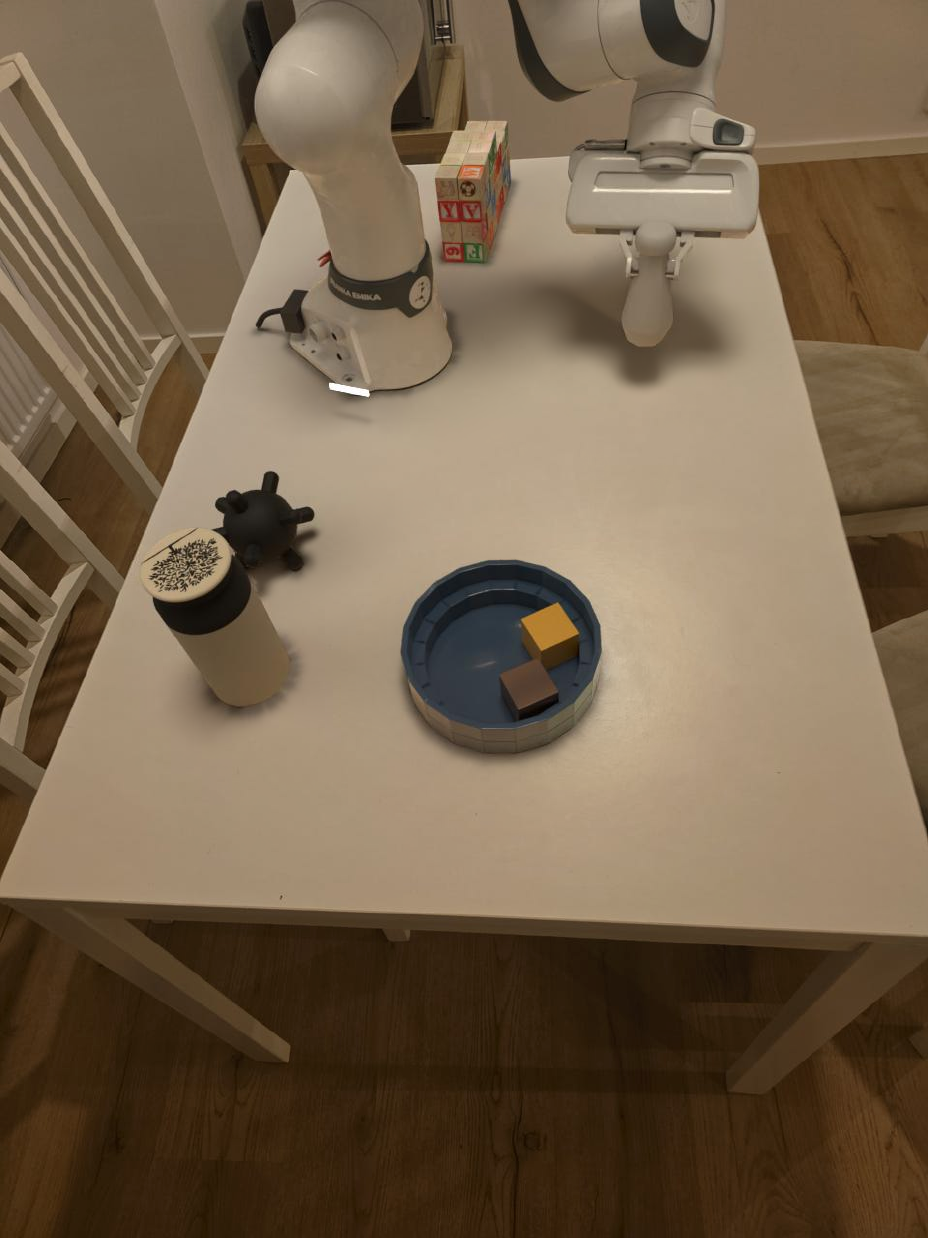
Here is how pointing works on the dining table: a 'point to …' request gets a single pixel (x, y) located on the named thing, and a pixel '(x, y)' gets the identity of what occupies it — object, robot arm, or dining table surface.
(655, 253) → the salt shaker
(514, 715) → the walnut block
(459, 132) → the stack of blocks
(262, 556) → the toy ball
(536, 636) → the mustard block
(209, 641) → the travel mug
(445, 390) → the dining table surface
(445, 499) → the dining table surface
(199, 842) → the dining table surface
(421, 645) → the bowl
